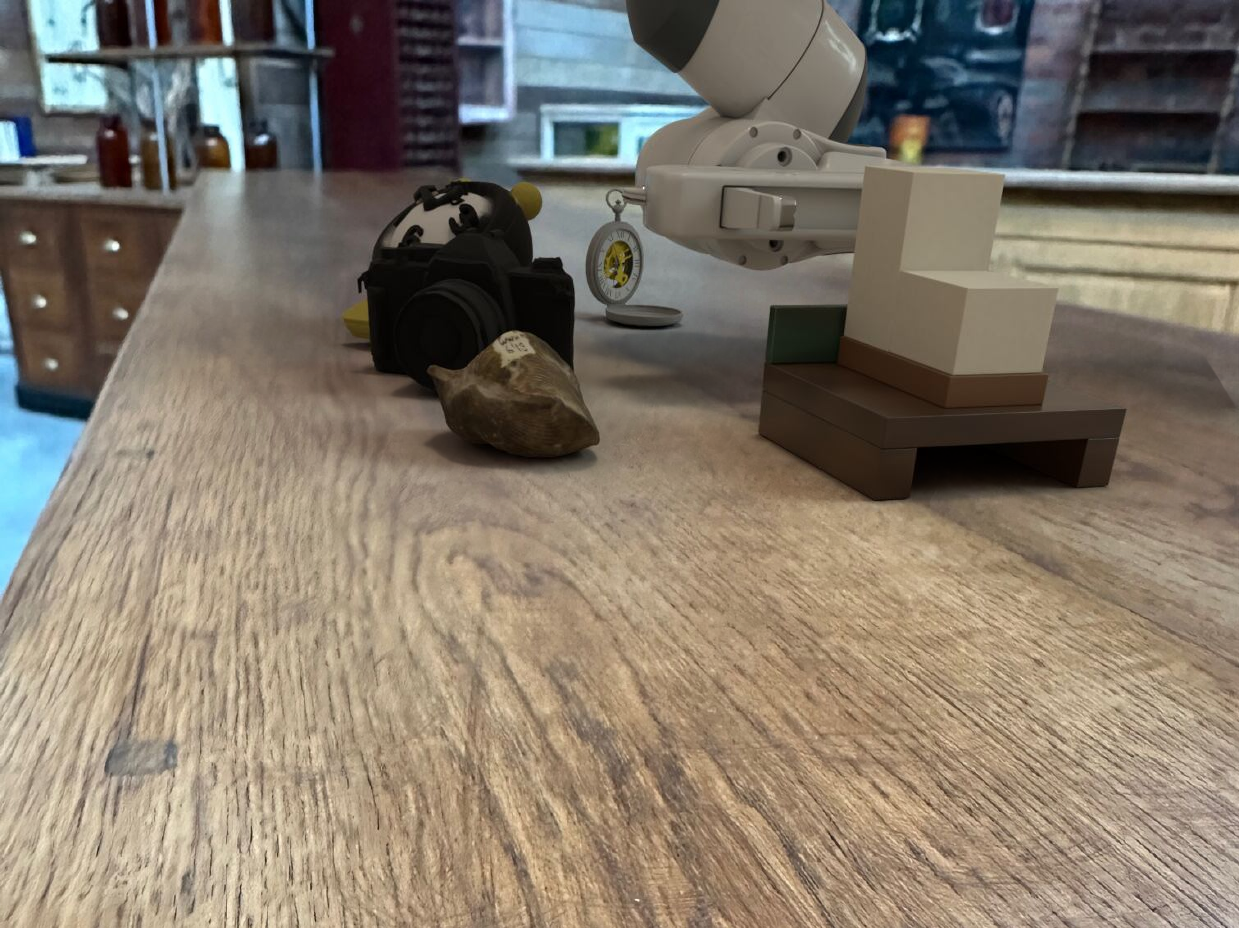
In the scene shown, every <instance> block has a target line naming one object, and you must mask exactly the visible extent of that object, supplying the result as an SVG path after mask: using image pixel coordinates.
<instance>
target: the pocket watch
mask: <svg viewBox="0 0 1239 928" xmlns="http://www.w3.org/2000/svg"><path fill="white" fill-rule="evenodd" d="M613 192H618V193H620V194H621V195H622V192H624V191H623V189H621V188H614V187H613V188H611V189H610V190H608V191H607V193H606V194H605V203H606V205H607V206H608V207H609V208H610V209H611V211H612V213H614V220H612V221H609V222H607V223H606V222H605V224H603V225H601V226H600V228H598V229H597V230H596V232H595V233H594V235H593V236H592V238H591V240H590V242H589V245H588V247H587V251H586V255H585V279H586V283H587V286H588V289H589V291H590V293H591V294H592V296H593V297H594V298H595V300H597V301H598V302H600V303H601V304H603V305H605V306H606V308H605V317H606V318H607V319H608V320H609V321H613V322H614V323H619V324H622V325H623V326H625V325H627V326H637V327H638V326H639V327H644V328H645V327H648V328H649V327H666V326H670V325H674V324H675V325H676V324H679V323H681V321H682V320H683V317H684V312H683V311H682V310H680V309H679V308H674V307H669V306H661V305H652V304H626V303H627V302H629V301H630V299H632V298H633V296H634V294H635V293H636V291H637V290H638V288H639V286H640V283H641V280H642V276H643V271H644V266H645V265H644V263H645V262H644V261H645V259H644V258H645V253H644V248H643V247H644V246H643V243H642V240H641V238H640V235H639V233H638V231H637V230H636V229H635V227H634V226H633V225H631V224H630V223H628V222H627V221H622V218H621V214H622V213H623V212H624V211H625V208H626V207H627V206H628V205H627V204H628V203H625V202H623V204H622V201H621V200H620V199H618V198H617V199H616V200H615V202H614V203H615V204H614V205H612V203H611V202H610V201H609V200H610V199H609V197H610V195H611V194H612V193H613ZM610 271H611V272H610ZM608 279H609V280H612V281H613V285H612V286H611V285H610V284H609V282H608ZM615 281H616V283H615Z"/></svg>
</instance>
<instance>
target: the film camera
mask: <svg viewBox="0 0 1239 928" xmlns="http://www.w3.org/2000/svg"><path fill="white" fill-rule="evenodd" d="M476 229H477V228H469V229H464V234H463V233H460V234H459V235H457V236H456V237H454V238H453V239H451V240H450V241H449V242H447V243H446V244H436V243H418V242H414V243H413V244H412V245H410V246H408V245H407V243H406V242H404V243H398V247H397V248H396V247H382V248H380V257H379V258H376V259H374V260H373V261H372V260H371V261H370V262H369V265H368V268H367V270H365V271H363V272H361V274H360V276H359V277H358V278H356V280H357V291H358V292H357V293H358V294H361V293H363V292H362V291H363V287H364V289H365V290H366V299H367V302H368V319H369V330H370V340H369V346H370V354H371V357H372V359H371V360H372V362H373V364H374V368H375V370H378V371H382V372H387V373H399V374H406V375H407V376H408V377H409V378H411V379H412V380H413V381H414V382H416V383H417V384H418V385H420V386H421V387H423V388H425V389H428V390H431V391H436V392H437V389H436V387H435V384H434V382H433V378H432V377H431V376H430V375H429V374H428V372H427V370H428V368H429V366H432V365H436V366H439V367H442V368H445V369H448V370H461V369H463V368H465V367H467V365H468V364H469V363H470V362H471V361H472V360H473V359H474V358H475V357H476V356H478V355H479V354H480V353H481V352H482V351H484V350H485V349H486V348H487V347H488V346H490V345H491V344H492V343H493V342H494V341H495V340H496V339H498V338H499V337H500V336H501V335H503V334H504V333H507V332H510V331H519V332H527V333H531V334H533V335H535V336H536V337H538V338H539V339H541V340H542V341H545V342H546V343H547V344H548V345H549V346H550V347H551V348H552V349H553V350H554V351H555V352H557V354H558V355H559V356H560V358H561V359H562V360H563V361H565V362H566V363H567V364H568V365H569V366H570V367H571V369H572V370H573V372H574V373H575V366H574V365H575V364H574V359H575V358H574V357H575V353H574V352H575V346H574V345H575V344H574V333H575V323H576V322H575V321H576V319H575V318H576V316H575V315H576V314H575V312H576V311H575V310H576V290H575V283H574V278H573V277H572V275H570V274H569V273H568V272H566V271H565V269H564V263H563V260H562V259H561V256H555V257H552V256H551V257H542V256H538V257H535V258H533V262H532V266H531V267H521V266H520V263H519V261H518V259H517V258H516V256H515V254H514V253H513V252H512V251H511V250H510V249H509V247H508V246H507V245H506V243H505V242H504V240H503V236H504V233H503V231H502V230H493V231H488V232H487V233H477V230H476ZM362 282H363V283H362Z"/></svg>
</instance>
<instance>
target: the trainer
mask: <svg viewBox="0 0 1239 928" xmlns="http://www.w3.org/2000/svg"><path fill="white" fill-rule="evenodd" d="M1005 178H1006V174H1005V173H998V172H990V171H989V172H988V171H981V170H972V169H964V168H956V167H932V166H931V167H930V166H928V167H926V166H920V167H896V166H865V171H864V179H863V187H862V195H861V203H860V211H859V219H858V227H857V235H856V243H855V251H854V253H853V260H852V268H851V276H850V284H849V291H848V299H847V304H848V307H847V315H846V323H845V331H844V336H841V338H840V346H839V354H838V362H837V363H838V364H839V365H842V366H844V367H847V368H849V369H852V370H854V371H856V372H859V373H861V374H864V375H866V376H868V377H871V378H873V379H876V380H878V381H880V382H883V383H885V384H888V385H890V386H893V387H895V388H897V389H900V390H902V391H905V392H907V393H909V394H912V395H914V396H917V397H919V398H921V399H924V400H926V401H929V402H931V403H934V404H936V405H938V406H941V407H943V408H964V407H990V406H1015V405H1041V404H1043V401H1044V396H1045V391H1046V386H1047V382H1048V381H1049V376H1050V374H1049V373H1047V372H1044V371H1043V366H1044V360H1045V357H1046V352H1047V347H1048V341H1049V336H1050V333H1051V327H1052V323H1053V318H1054V312H1055V308H1056V303H1057V298H1058V294H1059V289H1060V288H1059V286H1054V285H1050V284H1046V283H1042V282H1038V281H1033V280H1029V279H1025V278H1021V277H1017V276H1012V275H1007V274H1003V273H1000V272H994V271H990V270H989V269H990V263H991V257H992V252H993V246H994V241H995V235H996V229H997V224H998V220H999V219H998V218H999V213H1000V207H1001V202H1002V195H1003V189H1004V185H1005V180H1006V179H1005Z"/></svg>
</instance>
